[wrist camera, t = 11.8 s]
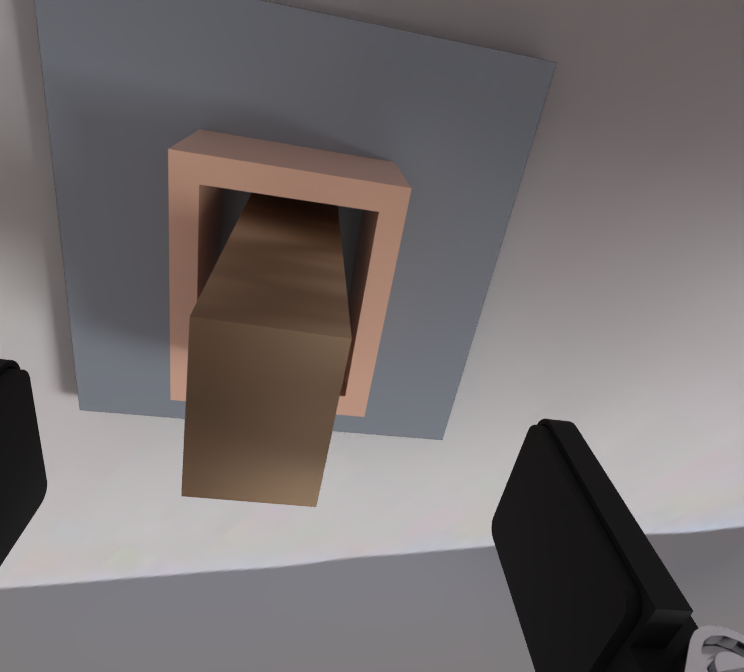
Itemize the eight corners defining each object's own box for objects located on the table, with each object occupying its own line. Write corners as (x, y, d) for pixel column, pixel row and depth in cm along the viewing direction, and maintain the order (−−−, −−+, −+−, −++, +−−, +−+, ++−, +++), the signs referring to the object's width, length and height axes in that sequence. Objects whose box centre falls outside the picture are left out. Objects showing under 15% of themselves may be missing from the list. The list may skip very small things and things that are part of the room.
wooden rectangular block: (337, 204, 19) (352, 339, 10) (318, 315, 21) (316, 507, 12) (253, 189, 18) (189, 316, 9) (242, 304, 20) (181, 496, 11)
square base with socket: (545, 61, 18) (631, 65, 13) (438, 426, 25) (466, 518, 20) (45, -43, 15) (-87, -89, 10) (88, 396, 23) (23, 492, 18)
